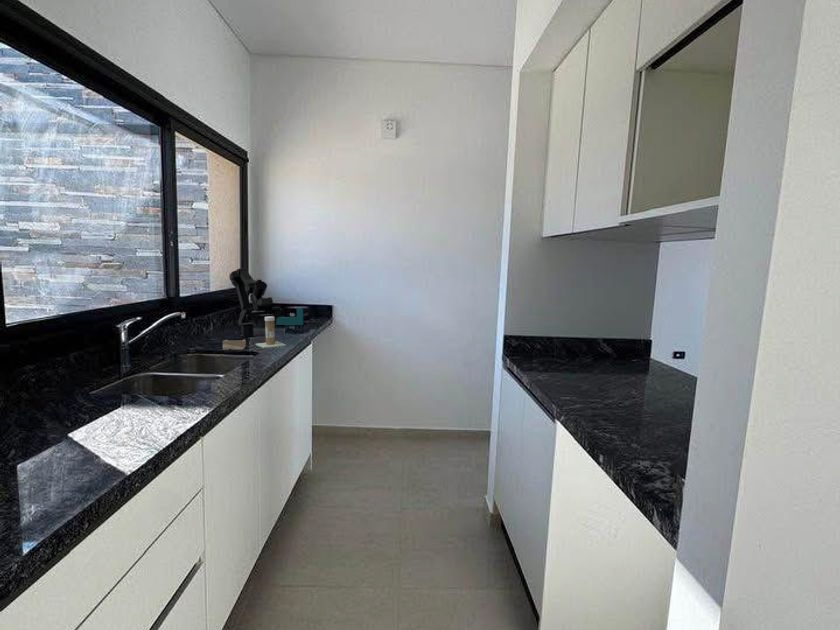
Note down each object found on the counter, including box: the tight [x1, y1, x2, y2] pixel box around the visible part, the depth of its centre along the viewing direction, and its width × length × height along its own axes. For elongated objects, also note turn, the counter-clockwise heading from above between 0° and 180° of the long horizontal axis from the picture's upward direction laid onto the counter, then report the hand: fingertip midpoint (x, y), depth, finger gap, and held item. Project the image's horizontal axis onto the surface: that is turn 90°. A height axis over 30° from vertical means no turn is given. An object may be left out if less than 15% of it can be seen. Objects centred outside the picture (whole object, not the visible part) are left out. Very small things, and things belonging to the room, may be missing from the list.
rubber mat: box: [255, 340, 287, 349], centre depth 224 cm, size 11×11×1 cm
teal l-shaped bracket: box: [276, 308, 304, 326], centre depth 296 cm, size 18×11×10 cm, turn 106°
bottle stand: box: [222, 339, 247, 351], centre depth 216 cm, size 6×9×4 cm, turn 101°
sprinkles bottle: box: [264, 315, 276, 345], centre depth 224 cm, size 5×5×14 cm
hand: (266, 326), depth 227 cm, fingers open, 9 cm apart
